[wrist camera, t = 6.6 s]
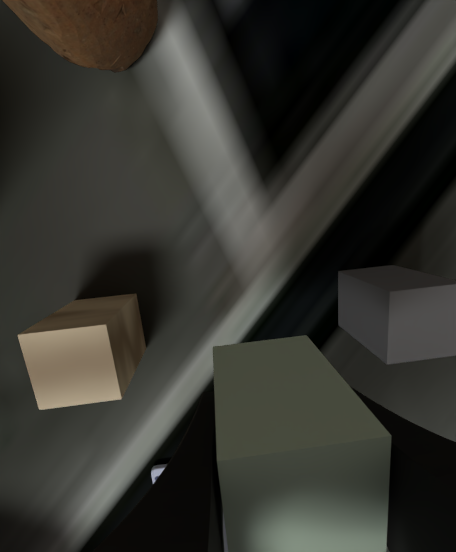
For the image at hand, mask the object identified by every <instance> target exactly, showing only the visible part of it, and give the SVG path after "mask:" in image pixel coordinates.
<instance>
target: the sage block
mask: <svg viewBox="0 0 456 552" xmlns="http://www.w3.org/2000/svg"><path fill="white" fill-rule="evenodd" d="M213 367H214V395H215V423H216V452H217V466H218V474H219V482H220V490H221V498H222V506H223V514H224V521H225V529H226V537H227V545H228V552H386V544H387V522H388V500H389V479H390V457H391V435H390V433H389V432H388V431H387V430H386V429H385V428H384V426H383V425H382V424H381V423H380V422H379V420H378V419H377V418H376V417H375V416H374V415H373V413H372V412H371V411H370V410H369V409H368V407H367V406H366V405H365V404H364V403H363V402H362V400H361V399H360V398H359V397H358V396H357V394H356V393H355V392H354V391H353V390H352V389H351V387H350V386H349V385H348V384H347V383H346V381H345V380H344V379H343V378H342V377H341V376H340V374H339V373H338V372H337V371H336V370H335V368H334V367H333V366H332V365H331V364H330V363H329V361H328V360H327V359H326V358H325V357H324V355H323V354H322V353H321V352H320V351H319V350H318V348H317V347H316V346H315V345H314V344H313V343H312V341H311V340H310V339H309V338H308V337H307V335H305V336H297V337H289V338H281V339H272V340H264V341H256V342H248V343H240V344H232V345H224V346H215V347H213Z"/></svg>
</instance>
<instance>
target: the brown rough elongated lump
mask: <svg viewBox="0 0 456 552" xmlns="http://www.w3.org/2000/svg"><path fill="white" fill-rule="evenodd" d="M2 1H4V2H5V3H6V4H7V5H8V7H9V8H10V9H11V10H12V11H13V12H14V13H15V14H16V15H17V16H18V17H19V18H20V19H21V20H22V21H23V22H24V24H25V25H26V26H27V27H28V28H29V29H30V30H31V31H32V32H33V33H34V34H35V35H37V36H38V37H39V38H40V39H41V40H42V41H44V42H45V43H46V44H48V45H49V46H50V47H51V48H52V49H53V50H54V51H55V52H56V53H57V54H59V55H60V56H62V57H63V58H64V59H66V60H67V61H69V62H72V63H74V64H77V65H79V66H82V67H88V68H91V67H92V68H99V69H100V70H111V71H113V72H120V71H124V70H126V69H127V68H128V67H129V66H130V65H131V64H132V63H133V62H135V61H136V60H137V59H138V58H139V57H140V56H141V54H142V53H143V51H144V49H145V47H146V45H147V44H148V43H149V42H150V40H151V38H152V36H153V33H154V31H155V29H156V25H157V21H158V10H157V0H2Z"/></svg>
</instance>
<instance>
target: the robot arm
mask: <svg viewBox="0 0 456 552" xmlns="http://www.w3.org/2000/svg"><path fill="white" fill-rule="evenodd" d="M351 389H352V390H353V391H354V392H355V393H356V394H357V396H358V397H359V398H360V399H361V400H362V402H363V403H364V404H365V405H366V406H367V407H368V409H369V410H370V411H371V412H372V413H373V415H374V416H375V417H376V418H377V419H378V420H379V422H380V423H381V424H382V425H383V426H384V428H385V429H386V430H387V431H388V432H389V433H390V435H391V457H390V479H389V500H388V522H387V547H388V549H389V551H390V552H456V442H454V441H451V440H449V439H446V438H444V437H442V436H439V435H437V434H435V433H433V432H430V431H428V430H426V429H424V428H422V427H420V426H418V425H416V424H414V423H412V422H410V421H408V420H406V419H404V418H402V417H400V416H398V415H397V414H395V413H393V412H391V411H389V410H388V409H386V408H384V407H382V406H381V405H379V404H377V403H376V402H374V401H372V400H371V399H369V398H367V397H366V396H364V395H363V394H361V393H359V392H358V391H356V390H355V389H353V388H352V387H351ZM151 476H152V481H153V485H152V487H151V488H150V489H149V490H148V492H147V493H146V494H145V495H144V497H143V498H142V499H141V500H140V501H139V503H138V504H137V505H136V506H135V507H134V508H133V510H132V511H131V512H130V513H129V514H128V515H127V517H126V518H125V519H124V520H123V521H122V522H121V523H120V524H119V525H118V526H117V527H116V528H115V529H114V530H113V531H112V532H111V533H110V534H109V535H108V536H107V537H106V538H105V539H104V540H103V541H102V542H101V543H100V544H99V545H98V546H97V547H96V548H95V549H94V550H93V551H92V552H228V545H227V537H226V529H225V521H224V514H223V506H222V498H221V490H220V482H219V474H218V466H217V452H216V423H215V395H214V391H211V392H203V394H202V395H201V398H200V401H199V404H198V406H197V409H196V412H195V414H194V416H193V418H192V421H191V423H190V425H189V427H188V429H187V431H186V433H185V435H184V437H183V439H182V440H181V442H180V444H179V446H178V448H177V450H176V451H175V453H174V455H173V456H172V458H171V459H170V461H169V462H168V464H162V465H156V466H154V467H153V468H152V471H151ZM157 476H159V477H157Z"/></svg>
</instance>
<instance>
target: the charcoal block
mask: <svg viewBox="0 0 456 552" xmlns="http://www.w3.org/2000/svg"><path fill="white" fill-rule="evenodd" d="M338 325H339V326H340V327H341V328H342V329H344V330H345V331H346V332H347V333H349V334H350V335H351V336H352V337H354V338H355V339H356V340H357V341H359V342H360V343H361V344H362V345H363V346H365V347H366V348H367V349H368V350H370V351H371V352H372V353H373V354H375V355H376V356H377V357H378V358H379V359H381V360H382V361H383V362H384V363H386V364H387V365H388V364H395V363H403V362H411V361H418V360H426V359H434V358H441V357H449V356H456V280H453V279H449V278H445V277H441V276H436V275H432V274H428V273H424V272H420V271H416V270H412V269H408V268H404V267H400V266H396V265H389V266H380V267H371V268H362V269H353V270H344V271H338Z"/></svg>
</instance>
